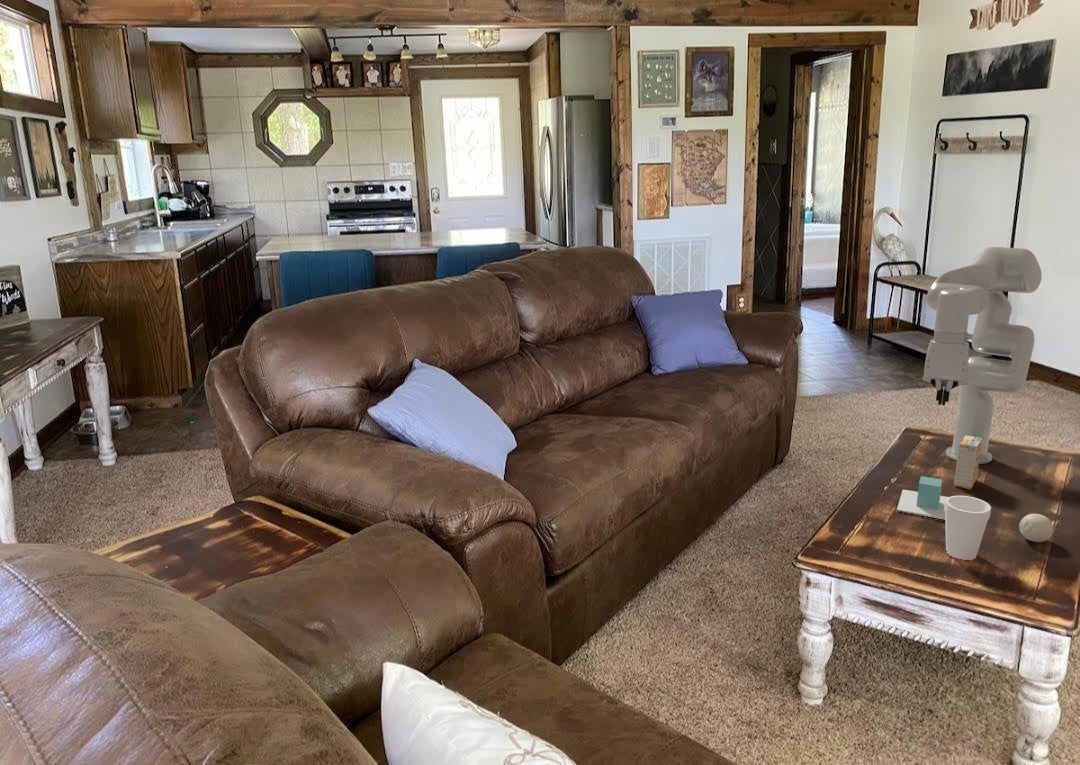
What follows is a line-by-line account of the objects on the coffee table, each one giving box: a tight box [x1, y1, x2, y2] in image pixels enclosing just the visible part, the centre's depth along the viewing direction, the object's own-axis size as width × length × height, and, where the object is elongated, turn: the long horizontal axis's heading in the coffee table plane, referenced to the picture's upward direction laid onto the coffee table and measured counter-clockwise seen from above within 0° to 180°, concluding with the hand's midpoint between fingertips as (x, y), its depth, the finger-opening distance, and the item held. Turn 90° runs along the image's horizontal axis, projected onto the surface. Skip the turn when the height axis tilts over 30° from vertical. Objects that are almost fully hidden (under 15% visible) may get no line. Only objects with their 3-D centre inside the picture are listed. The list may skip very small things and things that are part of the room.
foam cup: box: [944, 495, 992, 561], centre depth 185 cm, size 10×9×13 cm
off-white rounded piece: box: [1018, 513, 1054, 543], centre depth 191 cm, size 7×7×7 cm
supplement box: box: [953, 435, 982, 490], centre depth 223 cm, size 8×5×13 cm, turn 143°
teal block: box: [916, 475, 943, 510], centre depth 210 cm, size 5×5×7 cm
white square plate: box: [896, 489, 949, 520], centre depth 210 cm, size 14×14×6 cm
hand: (941, 403), depth 210 cm, fingers closed
